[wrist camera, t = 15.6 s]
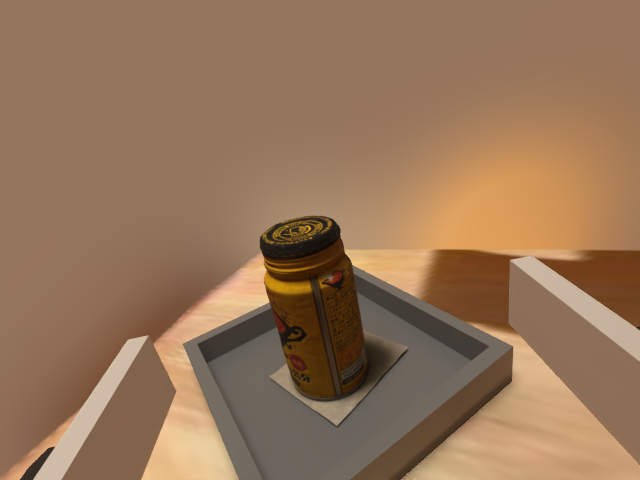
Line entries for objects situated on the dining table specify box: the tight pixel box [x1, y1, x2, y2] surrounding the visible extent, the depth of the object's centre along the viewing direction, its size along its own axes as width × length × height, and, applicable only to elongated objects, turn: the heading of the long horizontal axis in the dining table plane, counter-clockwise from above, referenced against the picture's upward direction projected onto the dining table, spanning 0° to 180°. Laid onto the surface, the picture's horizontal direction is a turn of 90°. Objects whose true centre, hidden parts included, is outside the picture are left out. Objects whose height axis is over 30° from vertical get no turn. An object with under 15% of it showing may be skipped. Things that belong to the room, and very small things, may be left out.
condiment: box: [260, 216, 408, 426], centre depth 25 cm, size 7×8×12 cm
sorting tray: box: [183, 265, 513, 480], centre depth 27 cm, size 18×18×3 cm
